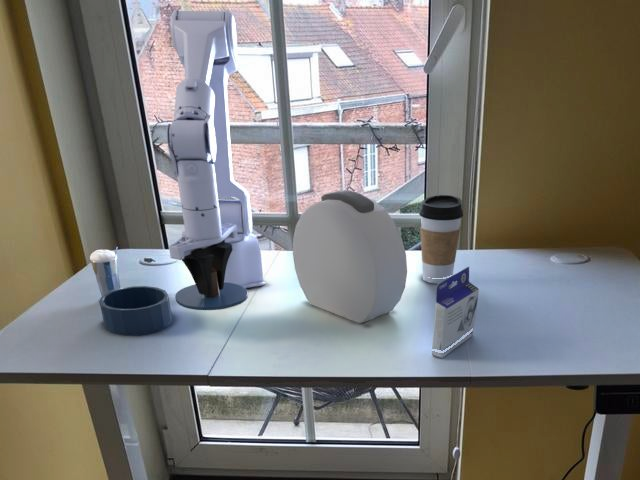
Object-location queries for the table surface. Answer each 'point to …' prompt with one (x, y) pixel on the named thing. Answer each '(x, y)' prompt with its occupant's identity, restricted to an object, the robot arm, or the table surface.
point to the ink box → (454, 312)
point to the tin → (136, 310)
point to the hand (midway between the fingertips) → (211, 291)
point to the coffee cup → (439, 235)
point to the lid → (212, 296)
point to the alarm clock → (349, 256)
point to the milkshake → (105, 270)
